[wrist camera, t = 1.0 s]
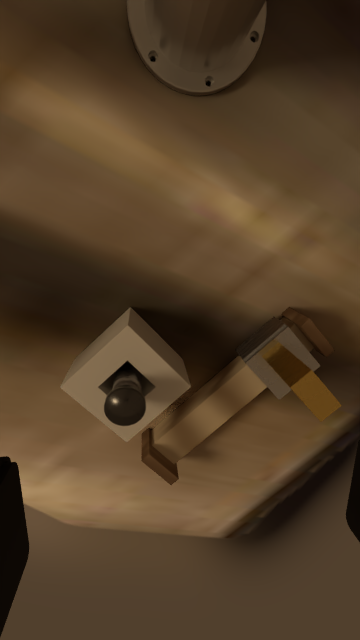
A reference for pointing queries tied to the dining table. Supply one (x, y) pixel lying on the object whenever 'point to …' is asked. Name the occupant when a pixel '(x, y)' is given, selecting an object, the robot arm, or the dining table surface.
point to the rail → (216, 404)
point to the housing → (110, 354)
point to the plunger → (125, 397)
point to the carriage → (287, 367)
